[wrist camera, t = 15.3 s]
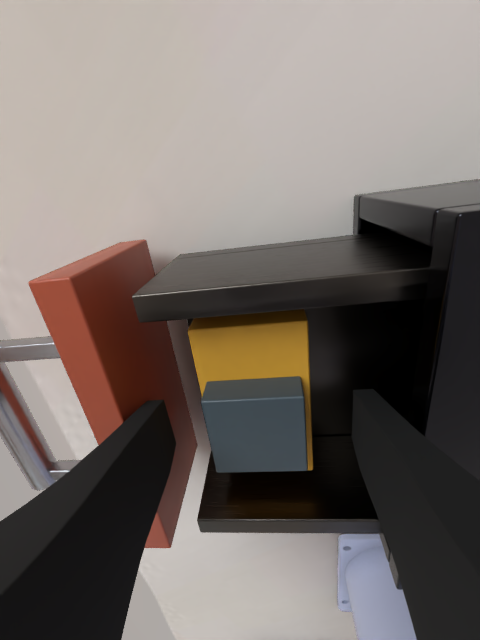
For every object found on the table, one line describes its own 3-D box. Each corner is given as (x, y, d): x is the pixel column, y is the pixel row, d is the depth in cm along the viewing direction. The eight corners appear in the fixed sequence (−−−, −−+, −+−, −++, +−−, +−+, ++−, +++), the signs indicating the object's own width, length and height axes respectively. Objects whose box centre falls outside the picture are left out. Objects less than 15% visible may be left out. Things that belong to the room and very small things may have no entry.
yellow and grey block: (305, 420, 14) (318, 498, 11) (226, 424, 15) (213, 498, 11) (299, 291, 11) (313, 338, 8) (202, 299, 12) (177, 348, 9)
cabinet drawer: (93, 447, 18) (29, 547, 13) (8, 255, 13) (-142, 299, 8) (441, 436, 15) (521, 553, 11) (489, 197, 11) (673, 212, 6)
